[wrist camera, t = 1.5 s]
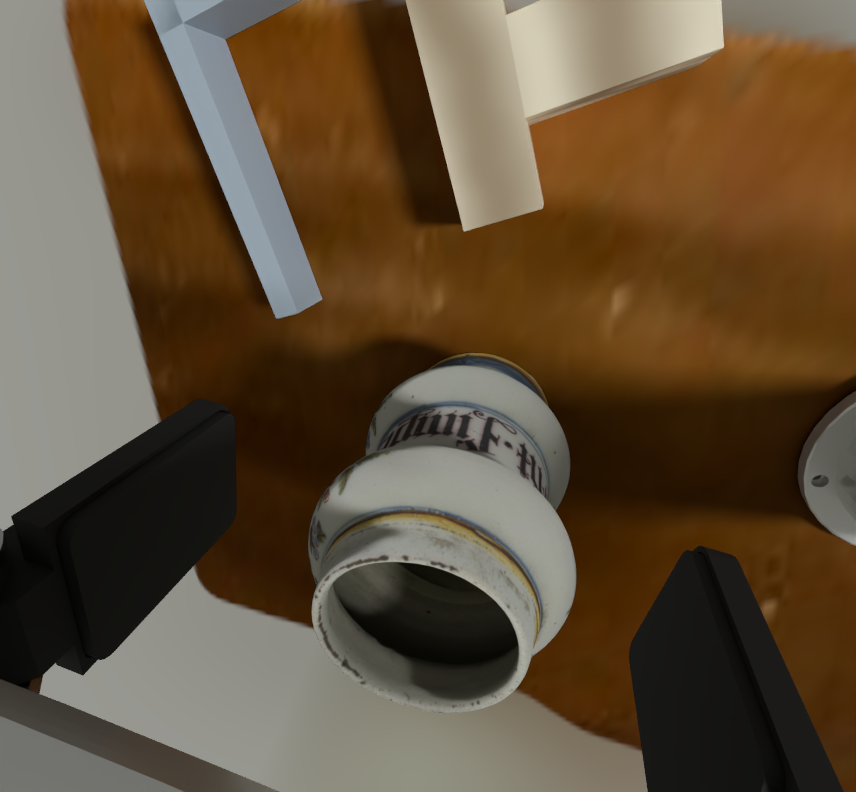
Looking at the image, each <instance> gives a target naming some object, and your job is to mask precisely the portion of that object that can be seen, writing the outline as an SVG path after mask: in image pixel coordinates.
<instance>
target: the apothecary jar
mask: <svg viewBox="0 0 856 792" xmlns="http://www.w3.org/2000/svg"><path fill="white" fill-rule="evenodd" d="M569 476H570V454H569V448H568V444H567V440H566V437H565V435H564V432H563V430H562V427H561V425H560V424H559V422H558V420H557V418H556V417H555V415H554V414H553V412H552V411H551V410H550V408H549V407H548V402H547V400H546V397H545V395H544V393H543V391H542V389H541V388H540V386H539V385H538V384H537V382H536V381H535V379H534V378H533V377H532V376H531V375H529V374H528V373H527V372H526V371H525V370H523V369H522V368H521V367H519V366H518V365H516V364H514V363H512V362H510V361H508V360H506V359H504V358H501V357H498V356H495V355H491V354H485V353H465V354H459V355H455V356H452V357H449V358H446V359H444V360H442V361H440V362H438V363H436V364H435V365H433V366H432V367H431V368H429V369H428V370H427V371H424V372H422V373H420V374H417V375H415V376H413V377H411V378H409V379H408V380H406V381H404V382H403V383H401V384H400V385H398V386H397V387H396V388H395V389H393V390H392V391H391V392H390V393H389V394H388V395H387V397H386V398H385V399H384V400H383V402H382V403H381V404H380V406H379V407H378V409H377V411H376V413H375V415H374V417H373V420H372V422H371V425H370V428H369V431H368V435H367V439H366V456H365V457H363V458H361V459H359V460H357V461H356V462H354V463H353V464H352V465H350V466H349V467H347V468H346V469H345V470H344V471H343V472H342V473H340V474H339V475H338V476H337V477H336V478H335V479H334V480H333V481H332V482H331V484H330V485H329V486H328V487H327V489H326V490H325V491H324V493H323V495H322V496H321V498H320V500H319V502H318V504H317V506H316V508H315V511H314V513H313V516H312V520H311V524H310V530H309V539H308V550H309V561H310V566H311V570H312V573H313V577H314V579H315V582H316V585H317V586H316V589H315V593H314V597H313V602H312V621H313V626H314V629H315V633H316V635H317V638H318V640H319V642H320V644H321V646H322V647H323V649H324V650H325V652H326V653H327V655H328V656H329V658H330V659H331V660H332V661H333V662H334V663H335V664H336V665H337V666H338V667H339V668H340V669H341V670H342V671H343V672H344V673H345V674H347V675H348V676H349V677H350V678H351V679H353V680H354V681H356V682H357V683H359V684H360V685H362V686H364V687H365V688H367V689H369V690H370V691H372V692H374V693H376V694H378V695H380V696H382V697H384V698H386V699H389V700H391V701H394V702H396V703H399V704H402V705H405V706H408V707H412V708H416V709H420V710H425V711H431V712H439V713H455V712H466V711H473V710H478V709H482V708H485V707H488V706H490V705H493V704H495V703H497V702H500V701H501V700H503V699H504V698H506V697H507V696H508V695H510V694H511V693H512V692H513V691H514V690H515V689H516V688H517V687H518V686H519V684H520V683H521V681H522V680H523V678H524V676H525V674H526V672H527V669H528V666H529V663H530V660H531V657H532V656H533V655H535V654H536V653H537V652H539V651H540V650H541V649H542V648H544V647H545V646H546V645H547V644H548V643H549V642H550V641H551V640H552V639H553V637H554V636H555V635H556V634H557V633H558V631H559V630H560V629H561V627H562V625H563V624H564V622H565V620H566V618H567V616H568V614H569V611H570V609H571V606H572V602H573V599H574V594H575V588H576V564H575V558H574V553H573V549H572V546H571V542H570V539H569V537H568V534H567V532H566V530H565V527H564V525H563V523H562V521H561V520H560V518H559V516H558V514H557V513H556V510H557V508H558V506H559V504H560V503H561V501H562V499H563V496H564V494H565V491H566V489H567V485H568V481H569Z"/></svg>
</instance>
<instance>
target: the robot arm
mask: <svg viewBox="0 0 856 792" xmlns="http://www.w3.org/2000/svg"><path fill="white" fill-rule="evenodd" d="M798 482H799V487H800V491H801V495H802V496H803V498H804V500H805V502H806V504H807V506H808V508H809V509H810V510H811V512H812V513H813V514H814V515H815V517H816V518H817V519H818V521H819V522H820V523H821V524H822V525H823V526H824V527H826V528H827V529H828V530H829V531H830V532H831V533H832V534H834V535H836V536H837V537H839V538H841V539H843V540H844V541H846V542H848V543H850V544H852V545H855V546H856V391H855V392H853V393H852V394H850V395H848V396H847V397H846V398H844V399H843V400H842V401H841V402H839V403H838V404H837V405H836V406H835V407H833V408H832V409H831V410H830V411H828V413H827V414H826V415H825V416H824V417H823V418H822V419H821V421H820V422H819V423H818V424H817V425H816V426H815V427H814V429H813V430H812V432H811V434H810V436H809V437H808V439H807V441H806V442H805V444H804V446H803V450H802V453H801V456H800V459H799V463H798ZM236 510H237V505H236V449H235V418H234V416H233V415H231V414H230V413H229V409H228V407H226V406H225V405H221V404H218V403H215V402H211V401H208V400H204V399H197V400H195V401H193V402H192V403H190V404H188V405H187V406H185V407H184V408H182V409H181V410H179V411H177V412H176V413H174V414H173V415H171V416H169V417H168V418H166V419H165V420H163V421H161V422H160V423H158V424H157V425H155V426H154V427H152V428H150V429H149V430H147V431H146V432H144V433H143V434H141V435H139V436H138V437H136V438H135V439H133V440H131V441H130V442H128V443H127V444H125V445H123V446H122V447H120V448H119V449H117V450H116V451H114V452H112V453H111V454H109V455H108V456H106V457H104V458H103V459H101V460H100V461H98V462H96V463H95V464H93V465H92V466H90V467H89V468H87V469H85V470H84V471H82V472H81V473H79V474H77V475H76V476H74V477H73V478H71V479H70V480H68V481H66V482H65V483H63V484H62V485H60V486H59V487H57V488H55V489H54V490H52V491H51V492H49V493H47V494H46V495H44V496H43V497H41V498H39V499H38V500H36V501H35V502H33V503H31V504H30V505H28V506H27V507H25V508H24V509H22V510H20V511H19V512H17V513H16V514H14V515H13V516H12V520H13V523H14V525H12V526H11V527H9V528H8V529H6V530H5V531H2V530H1V529H0V792H279V791H276V790H274V789H271V788H269V787H267V786H264V785H262V784H259V783H257V782H255V781H252V780H250V779H247V778H245V777H243V776H240V775H238V774H235V773H233V772H230V771H228V770H226V769H223V768H221V767H218V766H216V765H213V764H211V763H209V762H206V761H204V760H201V759H199V758H196V757H194V756H191V755H189V754H186V753H184V752H182V751H179V750H177V749H174V748H172V747H169V746H167V745H164V744H162V743H160V742H157V741H155V740H152V739H150V738H147V737H145V736H142V735H140V734H137V733H135V732H132V731H130V730H128V729H125V728H123V727H120V726H118V725H115V724H113V723H111V722H108V721H106V720H103V719H101V718H98V717H96V716H93V715H91V714H88V713H86V712H84V711H81V710H78V709H76V708H74V707H71V706H69V705H66V704H64V703H61V702H59V701H56V700H53V699H51V698H48V697H46V696H43V695H40V694H39V693H40V688H41V683H42V678H43V674H44V673H45V672H46V671H47V670H48V669H49V668H50V667H52V666H53V665H54V664H55V663H56V664H57V665H58V666H61V667H63V668H66V669H68V670H71V671H73V672H76V673H78V674H81V675H84V674H85V673H86V672H87V671H88V670H89V668H90V667H91V666H92V665H93V664H94V663H95V662H96V661H97V660H98V659H99V660H102V659H105V658H107V657H108V656H110V655H111V654H112V653H113V652H114V651H115V650H116V649H117V648H118V647H119V646H120V644H122V642H123V641H124V640H125V639H126V638H127V637H128V636H129V635H130V634H131V633H132V632H133V631H134V630H135V628H136V627H137V626H138V625H139V624H140V623H141V622H142V621H143V620H144V618H145V617H147V615H148V614H149V613H150V612H151V611H152V610H153V609H154V608H155V607H156V606H157V605H158V604H159V603H160V601H161V600H162V599H163V598H164V597H165V596H166V595H167V594H168V593H169V592H170V591H171V590H172V588H173V587H174V586H175V585H176V584H177V583H178V582H179V581H180V580H181V579H182V578H183V576H185V574H186V573H187V572H188V571H189V570H190V569H191V568H192V567H193V566H194V565H195V564H196V563H197V562H198V560H199V559H200V558H201V557H202V556H203V555H204V554H205V553H206V552H207V551H208V550H209V549H210V547H211V546H212V545H213V544H214V543H215V542H216V541H217V540H218V539H219V538H220V537H221V536H222V535H223V533H224V532H225V531H226V530H227V529H228V528H229V527H230V526H231V524H232V522H233V521H234V518H235V516H236ZM629 662H630V669H631V676H632V683H633V690H634V697H635V704H636V711H637V718H638V725H639V732H640V739H641V747H642V754H643V761H644V768H645V774H646V782H647V789H648V792H843V789H842V787H841V785H840V783H839V781H838V779H837V776H836V774H835V772H834V770H833V768H832V765H831V763H830V761H829V759H828V757H827V754H826V752H825V750H824V748H823V746H822V743H821V741H820V739H819V737H818V735H817V733H816V730H815V728H814V726H813V724H812V722H811V719H810V717H809V715H808V713H807V711H806V708H805V706H804V704H803V702H802V700H801V697H800V695H799V693H798V691H797V689H796V686H795V684H794V682H793V680H792V678H791V676H790V673H789V671H788V669H787V667H786V665H785V662H784V660H783V658H782V656H781V654H780V651H779V649H778V647H777V645H776V643H775V640H774V638H773V636H772V634H771V632H770V630H769V627H768V625H767V623H766V621H765V619H764V616H763V614H762V612H761V610H760V608H759V605H758V603H757V601H756V599H755V597H754V594H753V592H752V590H751V588H750V586H749V584H748V581H747V579H746V577H745V575H744V573H743V570H742V568H741V566H740V564H739V562H738V560H737V559H736V557H734V556H733V555H730V554H727V553H723V552H720V551H717V550H713V549H710V548H707V547H703V546H698V547H697V548H695V549H694V551H693V552H692V551H689V550H686V551H685V552H683V554H682V555H681V557H680V559H679V560H678V562H677V564H676V566H675V567H674V569H673V571H672V572H671V574H670V576H669V578H668V579H667V581H666V583H665V585H664V586H663V588H662V590H661V591H660V593H659V595H658V597H657V598H656V600H655V602H654V604H653V605H652V607H651V609H650V610H649V612H648V614H647V616H646V617H645V619H644V621H643V623H642V624H641V626H640V628H639V630H638V631H637V633H636V635H635V636H634V638H633V640H632V642H631V646H630V651H629Z"/></svg>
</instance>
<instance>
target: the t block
mask: <svg viewBox="0 0 856 792" xmlns="http://www.w3.org/2000/svg"><path fill="white" fill-rule="evenodd" d="M406 4H407V8H408V12H409V16H410V20H411V24H412V28H413V32H414V36H415V40H416V44H417V48H418V52H419V56H420V60H421V64H422V68H423V72H424V75H425V79H426V83H427V87H428V91H429V95H430V99H431V103H432V107H433V111H434V115H435V119H436V123H437V127H438V131H439V135H440V139H441V143H442V147H443V151H444V155H445V159H446V163H447V167H448V171H449V175H450V179H451V183H452V187H453V191H454V195H455V199H456V203H457V206H458V210H459V214H460V218H461V222H462V226H463V230H464V231H467V230H471V229H474V228H478V227H481V226H485V225H488V224H491V223H495V222H498V221H502V220H505V219H509V218H512V217H515V216H519V215H522V214H526V213H529V212H533V211H536V210H539V209H543V205H544V201H543V195H542V190H541V185H540V180H539V174H538V169H537V164H536V159H535V153H534V148H533V143H532V138H531V132H530V127H529V125H531V124H534V123H537V122H540V121H543V120H546V119H548V118H551V117H554V116H557V115H560V114H563V113H566V112H568V111H571V110H574V109H577V108H580V107H583V106H586V105H588V104H591V103H594V102H597V101H600V100H603V99H605V98H608V97H611V96H614V95H617V94H620V93H623V92H625V91H628V90H631V89H634V88H637V87H640V86H643V85H645V84H648V83H651V82H654V81H657V80H660V79H663V78H665V77H668V76H671V75H674V74H677V73H680V72H682V71H685V70H688V69H691V68H694V67H697V66H699V65H700V64H701V63H703V62H704V61H706V60H707V59H708V58H710V57H711V56H713V55H714V54H715V53H717V52H718V51H720V50H721V49H722V48H724V42H723V24H722V6H721V0H540V1H538V2H535V3H533V4H531V5H528V6H526V7H524V8H521V9H519V10H517V11H514V12H512V13H510V14H508V11H507V6H506V1H505V0H406Z"/></svg>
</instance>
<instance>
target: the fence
mask: <svg viewBox="0 0 856 792" xmlns="http://www.w3.org/2000/svg"><path fill="white" fill-rule="evenodd" d="M144 1H145V4H146V6H147V9H148V11H149V13H150V16H151V18H152V21H153V23H154V25H155V28H156V30H157V33H158V35H159V38H160V40H161V42H162V45H163V47H164V50H165V52H166V54H167V57H168V59H169V62H170V64H171V66H172V69H173V71H174V74H175V76H176V78H177V81H178V83H179V86H180V88H181V90H182V93H183V95H184V98H185V100H186V103H187V105H188V107H189V110H190V112H191V115H192V117H193V119H194V122H195V124H196V127H197V129H198V131H199V134H200V136H201V139H202V141H203V143H204V146H205V148H206V151H207V153H208V155H209V158H210V160H211V163H212V165H213V168H214V170H215V172H216V175H217V177H218V180H219V182H220V184H221V187H222V189H223V192H224V194H225V196H226V199H227V201H228V204H229V206H230V208H231V211H232V213H233V216H234V218H235V221H236V223H237V225H238V228H239V230H240V233H241V235H242V237H243V240H244V242H245V245H246V247H247V249H248V252H249V254H250V257H251V259H252V261H253V264H254V266H255V269H256V271H257V273H258V276H259V278H260V281H261V283H262V286H263V288H264V290H265V293H266V295H267V298H268V300H269V302H270V305H271V307H272V310H273V312H274V314H275V317H276V319H278V318H282V317H286V316H289V315H293V314H297V313H299V312H301V311H303V310H305V309H306V308H308V307H310V306H312V305H313V304H315V303H317V302H319V301H320V300H322V297H321V294H320V292H319V289H318V286H317V284H316V281H315V278H314V276H313V273H312V270H311V268H310V265H309V262H308V260H307V257H306V254H305V251H304V249H303V246H302V243H301V241H300V238H299V235H298V233H297V230H296V227H295V225H294V222H293V219H292V217H291V214H290V211H289V209H288V206H287V203H286V201H285V198H284V195H283V193H282V190H281V187H280V185H279V182H278V179H277V177H276V174H275V171H274V169H273V166H272V163H271V161H270V158H269V155H268V152H267V150H266V147H265V144H264V142H263V139H262V136H261V134H260V131H259V128H258V126H257V123H256V120H255V118H254V115H253V112H252V110H251V107H250V104H249V102H248V99H247V96H246V94H245V91H244V88H243V86H242V83H241V80H240V78H239V75H238V72H237V70H236V67H235V64H234V62H233V59H232V56H231V54H230V51H229V48H228V45H227V43H226V40H225V39H227V38H229V37H231V36H233V35H235V34H237V33H239V32H241V31H243V30H245V29H247V28H249V27H250V26H252V25H254V24H256V23H258V22H260V21H262V20H264V19H266V18H268V17H270V16H272V15H274V14H276V13H278V12H280V11H281V10H283V9H285V8H287V7H289V6H291V5H293V4H295V3H297V2H299V1H301V0H144Z"/></svg>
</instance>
